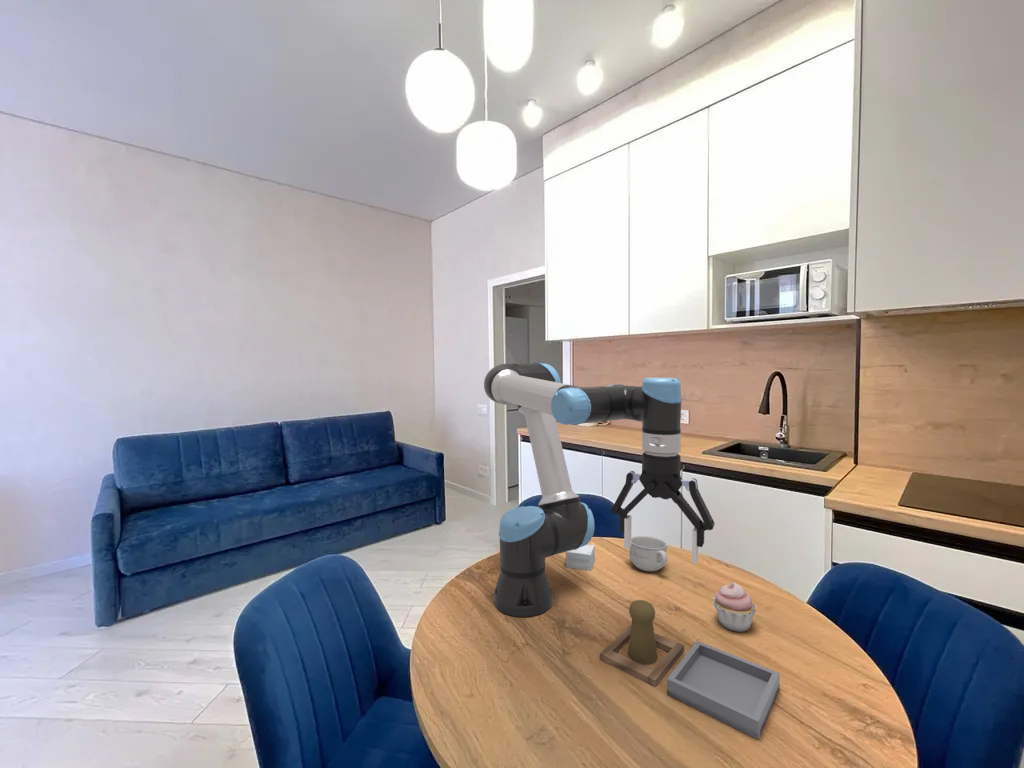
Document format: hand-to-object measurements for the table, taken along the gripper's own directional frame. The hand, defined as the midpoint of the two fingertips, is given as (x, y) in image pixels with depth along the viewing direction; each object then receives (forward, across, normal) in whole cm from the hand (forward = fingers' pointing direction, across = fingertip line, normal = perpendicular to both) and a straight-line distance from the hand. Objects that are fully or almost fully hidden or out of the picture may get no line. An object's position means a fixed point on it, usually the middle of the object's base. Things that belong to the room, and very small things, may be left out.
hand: (660, 553), depth 92 cm
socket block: (+21, -3, -3) cm, 22 cm away
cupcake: (+21, +13, +19) cm, 31 cm away
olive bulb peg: (+22, -3, -3) cm, 22 cm away
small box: (+22, -31, +32) cm, 49 cm away
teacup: (+22, -11, +38) cm, 45 cm away
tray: (+21, +13, -6) cm, 25 cm away
